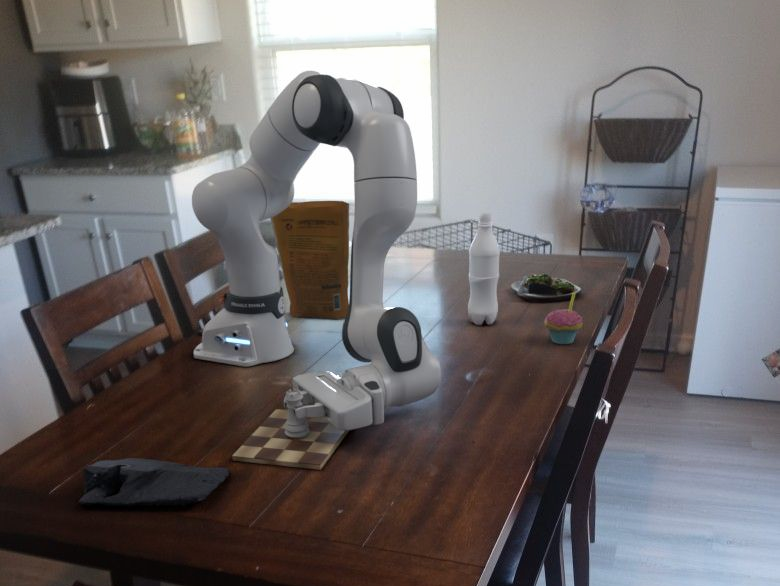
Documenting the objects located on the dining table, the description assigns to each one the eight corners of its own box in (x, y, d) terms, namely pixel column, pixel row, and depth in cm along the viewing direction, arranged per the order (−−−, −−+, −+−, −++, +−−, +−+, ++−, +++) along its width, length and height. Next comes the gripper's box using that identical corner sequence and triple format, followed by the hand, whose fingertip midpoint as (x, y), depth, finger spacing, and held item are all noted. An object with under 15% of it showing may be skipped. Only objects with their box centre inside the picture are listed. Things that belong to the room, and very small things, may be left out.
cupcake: (585, 337, 192) (590, 285, 186) (576, 349, 186) (580, 295, 179) (548, 333, 195) (552, 281, 189) (538, 344, 189) (541, 291, 183)
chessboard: (232, 460, 144) (231, 455, 144) (276, 413, 161) (276, 408, 160) (320, 470, 140) (320, 464, 140) (356, 420, 157) (356, 415, 156)
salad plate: (497, 285, 230) (498, 268, 228) (558, 279, 233) (560, 262, 231) (522, 305, 214) (523, 287, 211) (587, 299, 217) (589, 281, 215)
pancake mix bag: (351, 322, 206) (344, 203, 191) (278, 318, 210) (266, 201, 196) (359, 314, 212) (353, 197, 197) (288, 310, 216) (277, 196, 201)
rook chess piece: (290, 441, 147) (285, 398, 143) (281, 432, 151) (276, 390, 147) (313, 435, 149) (310, 393, 145) (304, 426, 152) (300, 385, 148)
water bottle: (496, 327, 200) (499, 218, 187) (466, 326, 201) (467, 217, 188) (498, 318, 206) (502, 211, 193) (469, 317, 207) (471, 211, 194)
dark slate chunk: (201, 518, 128) (197, 491, 125) (70, 507, 132) (63, 481, 129) (237, 471, 141) (233, 446, 138) (116, 463, 145) (110, 438, 142)
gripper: (333, 358, 159) (265, 373, 153) (386, 393, 143) (313, 412, 138) (335, 389, 162) (269, 405, 156) (387, 427, 147) (316, 446, 141)
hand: (290, 409), depth 147 cm, fingers closed on rook chess piece, 3 cm apart
